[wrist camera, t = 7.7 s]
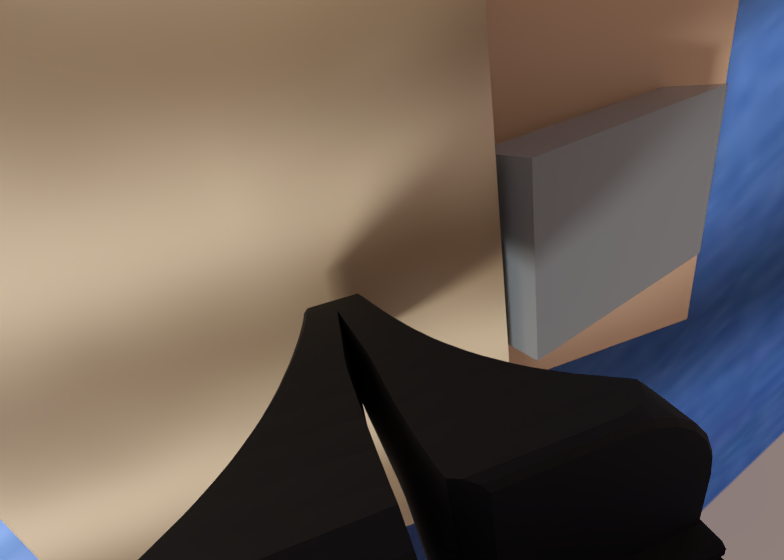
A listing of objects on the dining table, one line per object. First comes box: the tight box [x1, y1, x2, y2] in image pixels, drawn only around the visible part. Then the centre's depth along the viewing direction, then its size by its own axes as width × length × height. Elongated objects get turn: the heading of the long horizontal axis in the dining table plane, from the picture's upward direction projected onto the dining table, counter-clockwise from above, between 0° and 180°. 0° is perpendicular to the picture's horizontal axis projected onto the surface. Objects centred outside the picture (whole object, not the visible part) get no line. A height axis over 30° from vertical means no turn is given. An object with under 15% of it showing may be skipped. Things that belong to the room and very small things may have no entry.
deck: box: [0, 0, 509, 560], centre depth 12 cm, size 18×14×4 cm
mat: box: [485, 0, 739, 370], centre depth 16 cm, size 16×11×1 cm
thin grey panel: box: [495, 84, 728, 361], centre depth 14 cm, size 6×9×2 cm, turn 100°
